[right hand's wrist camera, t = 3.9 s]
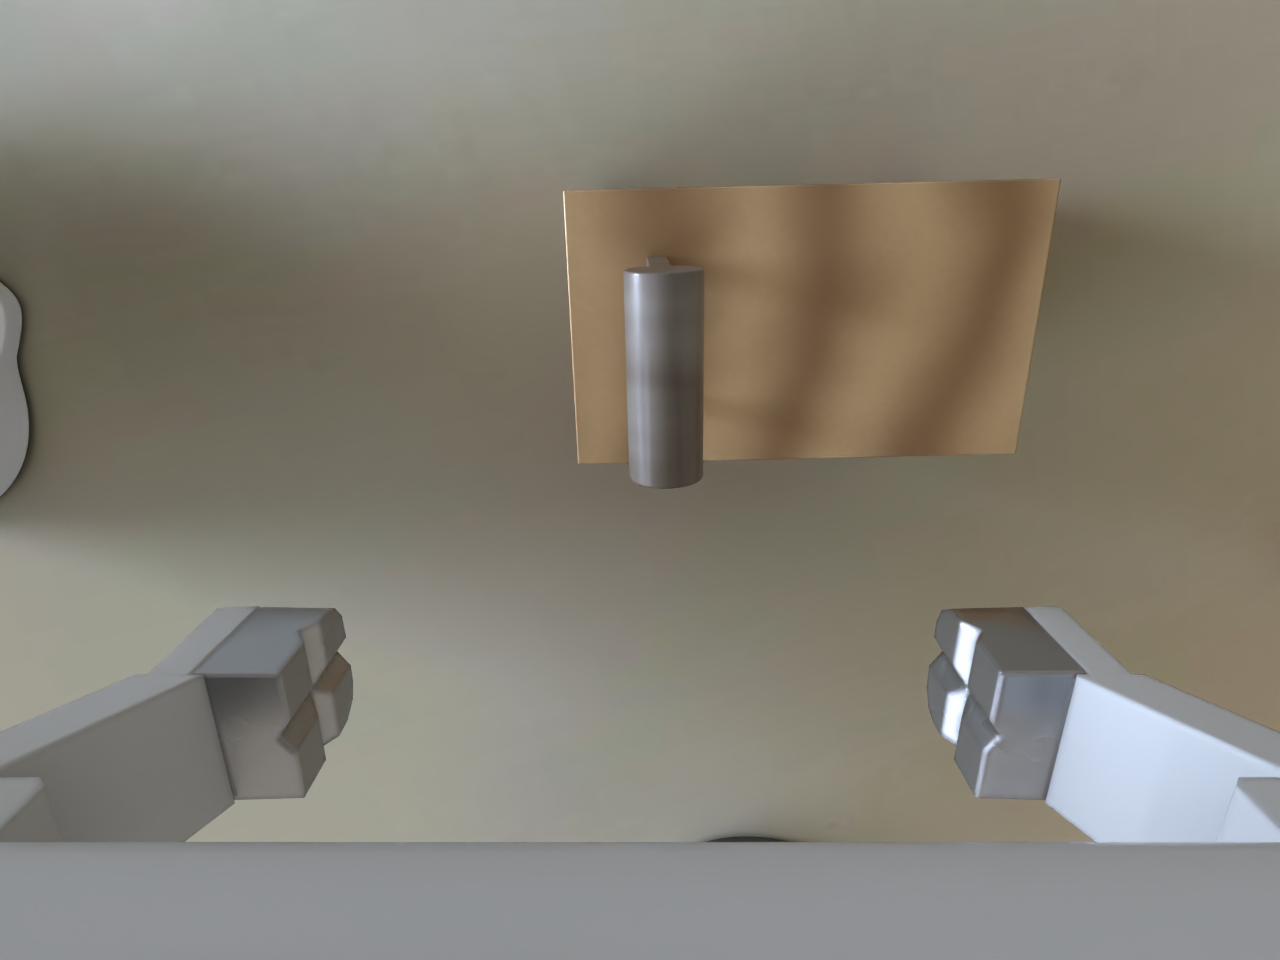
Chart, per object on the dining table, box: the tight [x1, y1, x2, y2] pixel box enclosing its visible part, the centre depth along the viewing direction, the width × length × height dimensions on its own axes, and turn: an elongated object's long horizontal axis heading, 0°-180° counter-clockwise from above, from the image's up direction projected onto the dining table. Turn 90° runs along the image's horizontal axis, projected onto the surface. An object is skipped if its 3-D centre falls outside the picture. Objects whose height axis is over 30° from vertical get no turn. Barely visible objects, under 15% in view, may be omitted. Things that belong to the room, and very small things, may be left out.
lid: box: [563, 179, 1061, 489], centre depth 23 cm, size 16×10×9 cm, turn 91°
